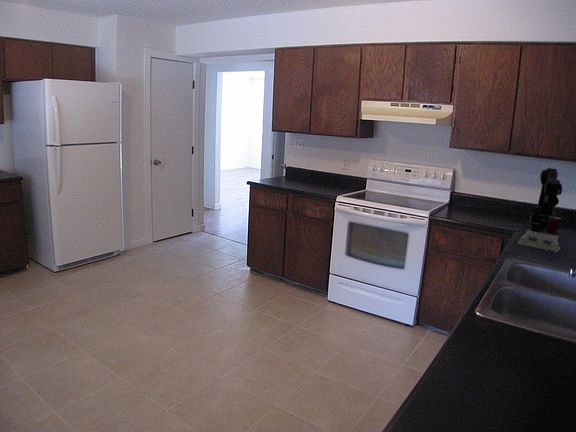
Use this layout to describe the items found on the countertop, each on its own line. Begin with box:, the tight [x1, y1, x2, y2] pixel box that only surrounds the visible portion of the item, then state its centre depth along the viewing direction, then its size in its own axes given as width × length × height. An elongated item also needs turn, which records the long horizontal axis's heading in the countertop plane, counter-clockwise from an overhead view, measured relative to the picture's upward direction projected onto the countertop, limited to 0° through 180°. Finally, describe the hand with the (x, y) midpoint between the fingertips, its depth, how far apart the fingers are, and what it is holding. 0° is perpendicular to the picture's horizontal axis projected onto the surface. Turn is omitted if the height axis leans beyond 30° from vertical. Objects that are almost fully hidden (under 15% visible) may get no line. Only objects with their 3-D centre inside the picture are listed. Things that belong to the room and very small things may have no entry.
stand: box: [517, 234, 562, 253], centre depth 261 cm, size 11×20×4 cm, turn 52°
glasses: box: [524, 229, 559, 244], centre depth 261 cm, size 9×16×3 cm, turn 52°
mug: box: [546, 216, 562, 234], centre depth 299 cm, size 10×8×10 cm
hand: (543, 230), depth 261 cm, fingers open, 9 cm apart
